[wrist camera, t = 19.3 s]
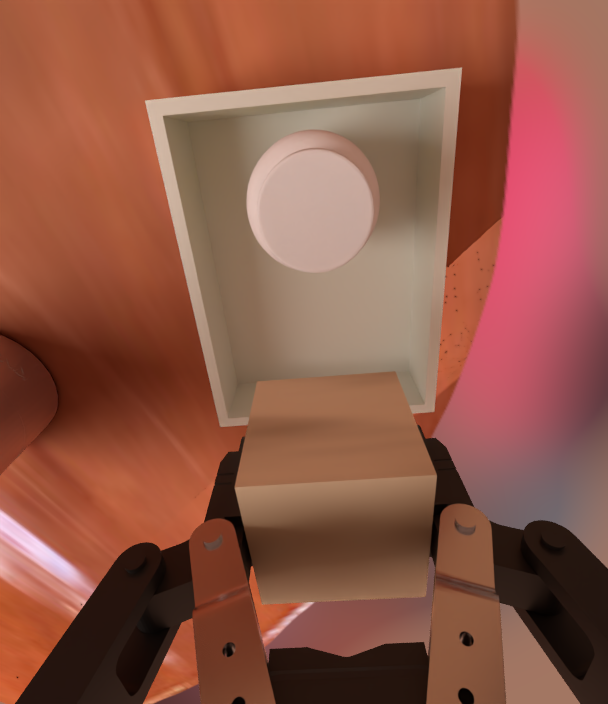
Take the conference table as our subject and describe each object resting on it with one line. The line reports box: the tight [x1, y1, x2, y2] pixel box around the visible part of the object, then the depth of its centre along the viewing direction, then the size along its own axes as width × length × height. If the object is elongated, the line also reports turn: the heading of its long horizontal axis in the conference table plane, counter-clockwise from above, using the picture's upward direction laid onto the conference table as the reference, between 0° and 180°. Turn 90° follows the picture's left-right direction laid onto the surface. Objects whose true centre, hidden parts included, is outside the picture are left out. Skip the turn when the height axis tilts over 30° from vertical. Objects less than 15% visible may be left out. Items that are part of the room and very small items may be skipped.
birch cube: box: [235, 371, 437, 604], centre depth 13 cm, size 5×5×5 cm
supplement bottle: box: [247, 129, 380, 273], centre depth 17 cm, size 5×5×10 cm
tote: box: [145, 68, 462, 427], centre depth 22 cm, size 17×13×5 cm
